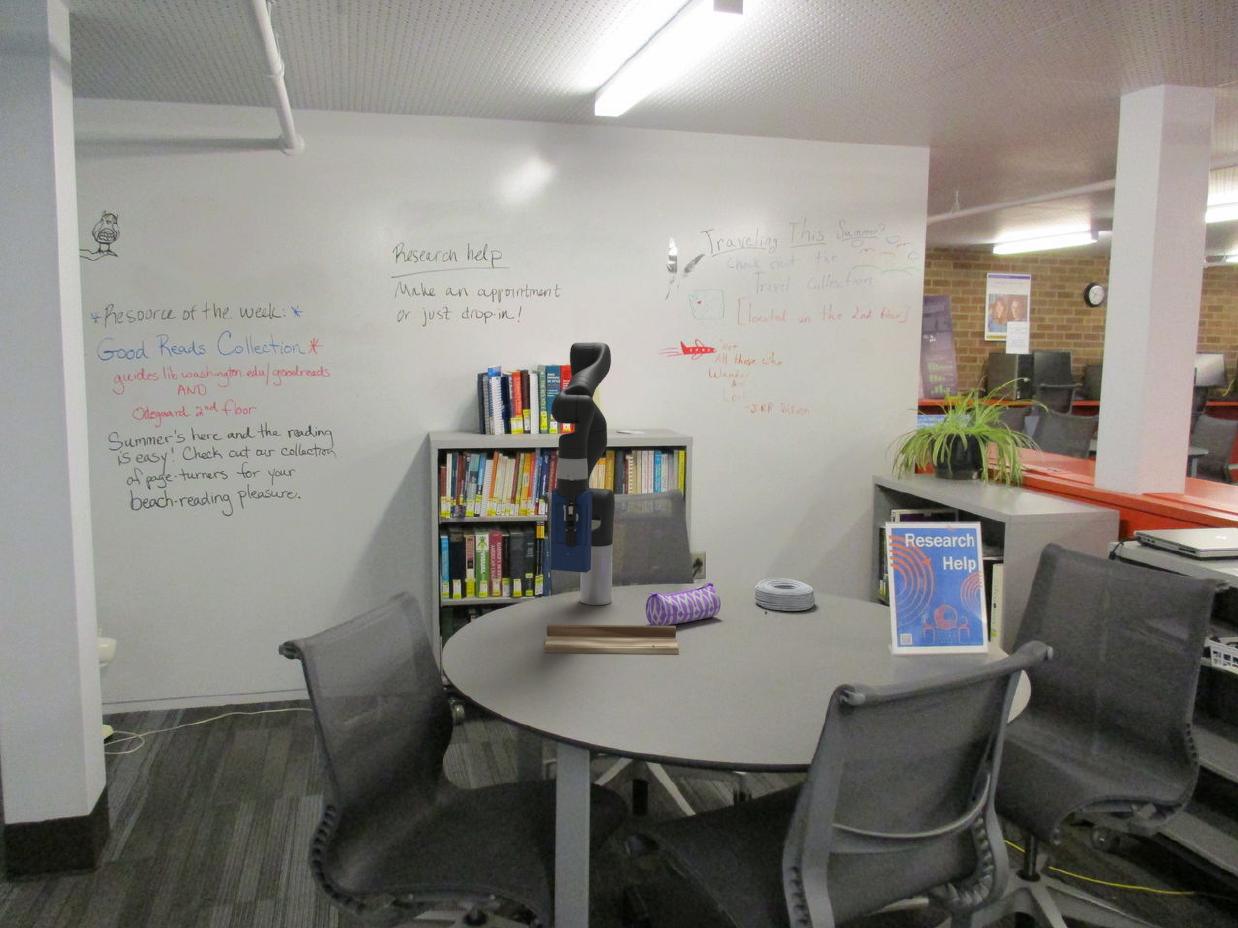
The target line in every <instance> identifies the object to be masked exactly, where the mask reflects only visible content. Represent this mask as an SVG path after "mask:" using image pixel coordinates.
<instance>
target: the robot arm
mask: <svg viewBox="0 0 1238 928" xmlns="http://www.w3.org/2000/svg"><path fill="white" fill-rule="evenodd" d="M611 353H612V352H611V348H610V347H609V345H608V344H607V343H604V342H600V341H599V342H574V343H572V345H571V346H570V349H569V365H570V367H569V368H570V376H571V378H570V379H569V381H568V384H567V386H566V387H565V388H564V389H562V390H561V391H560V392H559V393H557V395H556V396H555V397H554V399H553V401H552V404H551V409H550V411H551V417H552V418H553V420H555V422H556V423H559V424H569V425H570V424H571V425H573V432H567V433H563V434H561V435H560V436H559V438H558V451H557V452H558V453H557V454H558V455H557V456H558V458H557V459H558V460H557V467H556V488H557V492H558V495H559V496H563V497H564V496H566V498H567V506H565V505H564V521H565V522H566V526H565V530H566V546H568V547H574V546H575V531H576V522H578V514H576V509H577V508H576V497H578V496H580V493H582V492H583V491H587V490H592V521H600V523H599V525H598V527H596V528H594V529H592V532H591V570H590V571H588V572H587V573H584V572H580V578H579V579H580V590H579V591H580V592H579V593H580V595H579V596H580V597H579V600H580V603H582V604H585V605H589V606H603V605H608V604H610V603H612V600H613V599H612V598H613V596H612V595H613V593H612V592H613V550H614V548H613V539H614V520H615V519H614V518H615V507H616V504H615V503H616V500H615V494H614V492H613V490H611V489H609V488H596V487H595V488H594V487H592V488H591V487H590V479H591V475H592V472H593V471H594V469H595V467H596V465H597V463H598V462H599V460H600V459H601V457H602V455H603V454H604V452H605V450H607V446H608V423H607V420H606V418H605V416H604V414H603V412H602V410H601V409H600V408H599V406H598V405H597V404H596V402H595V401H594V399H593V398H594V396H595V393H596V390H597V388H598V386H599V385H600V384H601V383H602V382H603V381H604V379H605V378H606V377H607V375H608V374H609V371H610V370H611V365H612V355H611ZM569 522H574V525H568V523H569Z"/></svg>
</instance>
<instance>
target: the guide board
mask: <svg viewBox="0 0 1238 928" xmlns="http://www.w3.org/2000/svg"><path fill="white" fill-rule="evenodd" d="M676 626H677V625H666V626H653V625H644V624H643V625H642V624H641V625H638V624H637V625H636V624H635V625H633V624H632V625H630V624H626V625H624V624H612V625H611V624H608V625H607V624H547V625H546V637H545V638H546V639H545V644H544V653H545V652H564V653H563V654H567V653H566V652H573V653H572V654H642V655H643V654H651V655H652V654H654V655H655V654H656V655H657V654H659V655H660V654H662V655H663V654H665V655H667V654H668V655H672V654H673V655H675V654H676V655H678V654H679V652H680V651H679V650H680V648H679V644H678V640H677V627H676ZM574 652H576V653H574Z"/></svg>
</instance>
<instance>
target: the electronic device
mask: <svg viewBox="0 0 1238 928" xmlns="http://www.w3.org/2000/svg"><path fill="white" fill-rule="evenodd" d="M550 504H551V505H550V506H551V507H550V509H551V512H550V514H551V515H550V516H551V517H550V519H551V521H550V570H552V571H560V572H561V571H562V572H574V573H575V572H576V573H581V572H584V573H587V572H588V571H590V570H591V532H592V530H593V529H592V521H593V520H592V490H587V491H583V492H582V493H580V496H578V497H576V508H577V509H576V514H578V522H576V531H575V546H574V547H568V546H566V530H565V526H566V522H565V521H564V505H565V506H567V498H566V496H564V497H563V496H559V495H558V492H557V487H556V488H553V489H551V503H550ZM568 525H574V522H569V523H568Z"/></svg>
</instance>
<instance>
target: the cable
mask: <svg viewBox="0 0 1238 928" xmlns="http://www.w3.org/2000/svg"><path fill="white" fill-rule="evenodd" d="M754 600H755V603H756V604H758V605H760V606H761V607H762V608H764V609H768V610H777V611H783V612H784V611H788V612H792V611H793V612H795V611H797V612H798V611H806V610H809V609H811V608H812V607H813V606H814V604H815V603H816V597H815V592H814V589H813V587H812V586H811V585H809V584H807V583H805V582H802V581H800V580H797V579H793V578H783V577H768V578H764V579H761V580H759V581H758V582H757V584H756V585H755V587H754Z"/></svg>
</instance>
